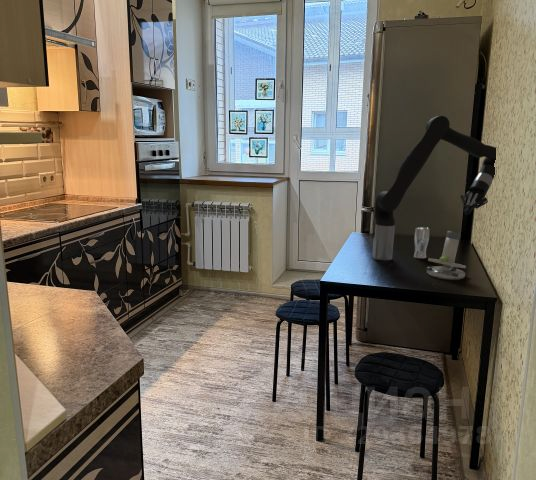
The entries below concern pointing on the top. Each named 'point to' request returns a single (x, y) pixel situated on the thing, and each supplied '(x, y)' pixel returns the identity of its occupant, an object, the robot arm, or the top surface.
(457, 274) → the base
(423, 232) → the beer glass
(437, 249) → the top surface
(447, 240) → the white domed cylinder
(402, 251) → the top surface
